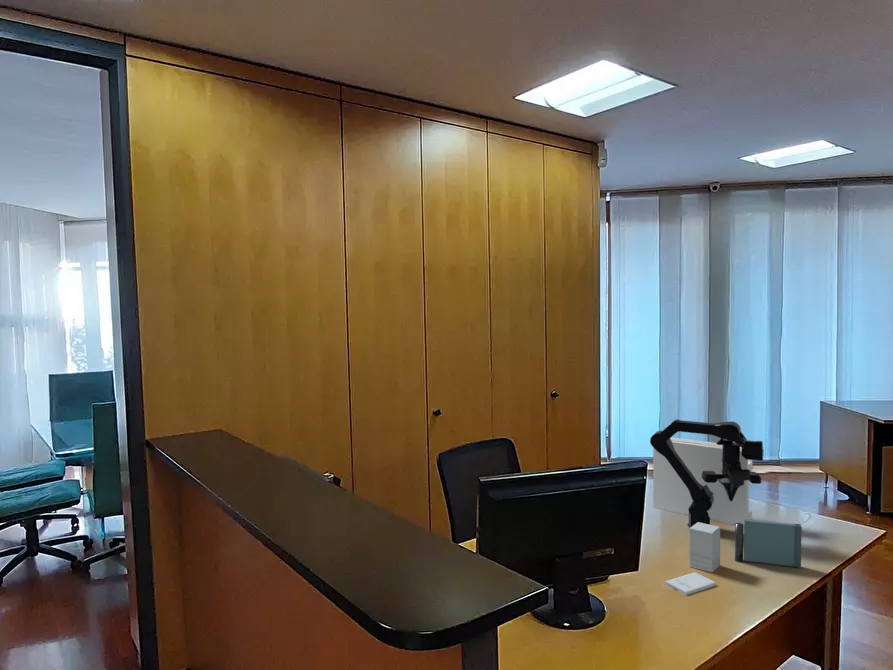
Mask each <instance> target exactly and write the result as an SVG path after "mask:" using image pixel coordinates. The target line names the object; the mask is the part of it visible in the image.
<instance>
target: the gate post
mask: <svg viewBox="0 0 893 670" xmlns="http://www.w3.org/2000/svg"><path fill="white" fill-rule="evenodd" d="M734 531H735V532H734V561H735V562H738V563H743V562H744V526H743V524H742V523H735V524H734Z"/></svg>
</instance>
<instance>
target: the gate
mask: <svg viewBox="0 0 893 670" xmlns="http://www.w3.org/2000/svg"><path fill="white" fill-rule="evenodd" d="M802 527H803V526H802V525H801V524H799V523H787V522H777V521H776V522H775V521H767V520H755V519H752V520H747V519H744V526H743V562H744V561H745V562H752V563H753V562H754V563H760V564H761V563H763V564H771V565H772V564H773V565H778V566H787V567H794V568H800V569H801V568H802V533H803V532H802V531H803V530H802V529H803V528H802Z"/></svg>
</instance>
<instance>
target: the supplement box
mask: <svg viewBox="0 0 893 670" xmlns="http://www.w3.org/2000/svg"><path fill="white" fill-rule="evenodd" d="M688 529H689V530H688V531H689V532H688V533H689V534H688V535H689V537H688V538H689V539H688V541H689V544H688V545H689V567H690V568H694V569H698V570H700V571H704V572H709V573H713V572H714V571H716V570H717V569H718V568H719V567H720V566H721V527H720V526H717V525H713V524H710V525H709V524H704V523H700V522H697V523H696V524H695V525H693V526H692V527H690V528H689V527H688Z"/></svg>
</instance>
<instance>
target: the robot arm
mask: <svg viewBox="0 0 893 670" xmlns="http://www.w3.org/2000/svg"><path fill="white" fill-rule="evenodd" d="M679 432H680V433H691V434H699V435H701V434H702V435H709V436H714V437H717V438H720V439H719V440H717V442H716V443H717V445H723V449H722V474H716V473H715V472H714V471H703V472H702V479H703V480H704V481H705V482H707V483H715V482H716V481H717V479H718V481H719V482H720V483H721V484H722V485H723V486H724V488H725V490H726V493H727V496H728V498H729V501H733V498H734V496H735V493H736V491H737V489H738V488H739V487H740V486H741V485H744V480H749V483H751V484H752V485H753V484H754V485H755V484H757V485H758V484H759V485H760V484H762V477H761V476H760V475H759V474H758V473H757V472H756V471H751V472H750V470H748V469H742V468H741V463H740V447H742V456H743V458H745V459H747V460H753V461H757V462H759V461H760V462H764V455H765V454H764V443H763V442H764V441H762V440H755V441H754V440H747V437H746V436H745V435H744V433H743V432H742V428H741V426H740V425H739V423H737V422H735V421H722V422H714V423H712V422H702V421H701V422H700V421H690V420H683V419H681V420H680V419H674V420H673V421H672V422H670V424H669V425H667V427H665V428H664V429H663V430H658V431H656V432H655V433H653V435H652V436H651V437H650V439H649V440H650V441H649V443H650V445H651V447H652V448H654V449H655V450H656V451H657V452H659V453H660V454H661V455H663V456H664V457H665V458H666V459H667V460H668V462H669V463H670V465H671V466H672V467H673V469H674V470H675V472H676V473H677V474H678V476H679V477H680V478H681V480H682V481H683V483H684V484H685V485H686V487H687V488H688V490H689V492H690V495H691V498H692V500H693V502H692V503H691V505H690V507H689V509H688V510H689V515H688V523H687V527H688V529H689V528H690V527H692V526H693V525H695V524H696V523H697V522H700V523H704V524H709V525H711V519H710V517H709V516H708V512H707V511H708V510H709V509H710V508H711V507H712V504H713V502H714V497H713V492H711V491H710V490H709V488H708V486H707V485H705V486H702V485H701V484H699V483H698V481H697V480H696V479H695V477H694V476H693V475H692V473H691V472H690V470H689V469H688V468H687V466H686V465H685V464H684V462H683V461H682V460H681V458H680V457H679V455H678V454H677V453H676V451H675V449H674V447H673V444H672V441H671V439H670V438H671V437H673V436H675V434H677V433H679Z"/></svg>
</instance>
